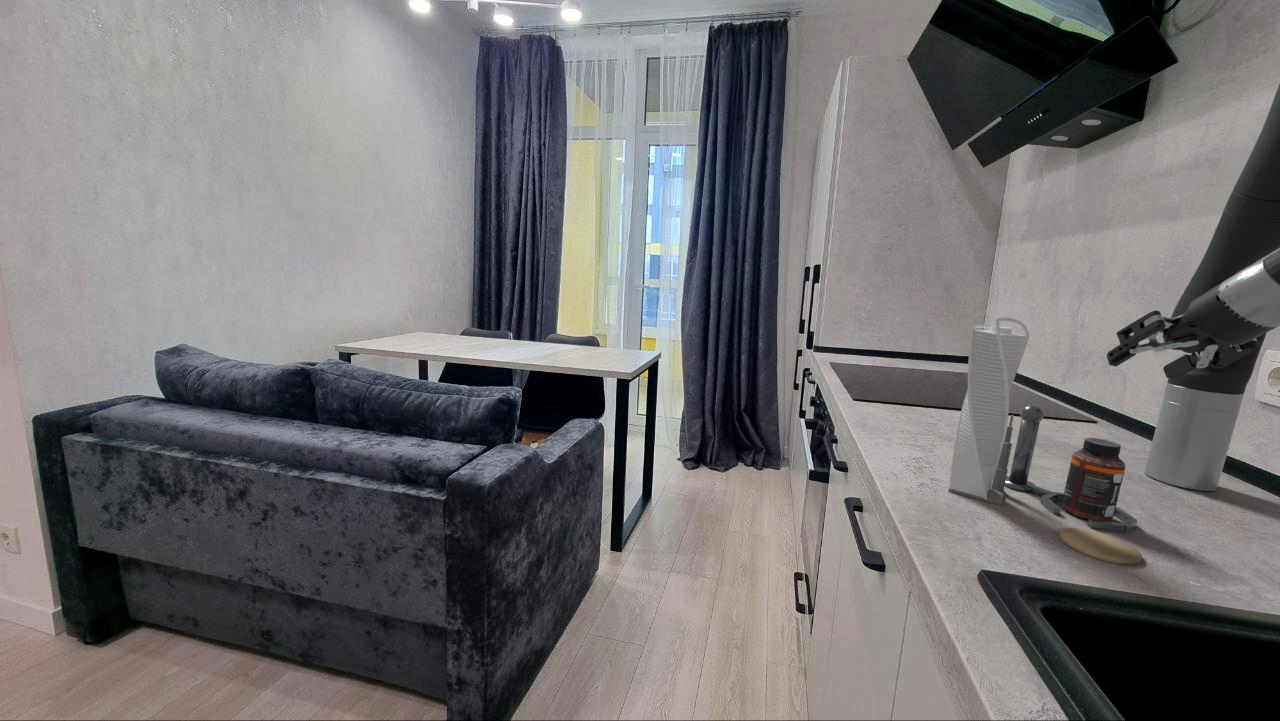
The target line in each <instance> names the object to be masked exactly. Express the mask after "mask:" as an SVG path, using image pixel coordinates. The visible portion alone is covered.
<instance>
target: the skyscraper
mask: <svg viewBox="0 0 1280 721" xmlns="http://www.w3.org/2000/svg"><path fill="white" fill-rule="evenodd" d="M1000 322H1011V323H1015V324H1017V325H1018V326H1020V327H1021V328H1022V329H1023V331H1024V333H1025V335H1024V334H1021V333H1020V334H1019V333H1014V332H1013V327H1009V326H1008V327H1007V326H1000ZM978 328H981V329H978ZM985 328H986V329H989V330H985ZM982 329H983V330H982ZM969 338H970V339H969V347H968V348H969V349H968V361H967V362H968V363H967V365H968V366H967V391H966V394H965V397H964V400H963V402H962V403H963V404H962V407H961V410H960V415H959V419H958V423H957V428H956V432H955V439H954V444H953V452H952V458H951V468H950V475H949V482H948V483H949V486H948V492H949V493H954V494H957V495H960V496H961V495H962V496H964V497H968V498H972V499H975V498H976V500H979V499H980V500H979V501H983V502H986V501H987V503H990V504H994V505H998V506H1002V505H1003V504H1002V503H1003V498H1004V494H1005V481H1006V476H1008V466H1009V461H1010V457H1011V452H1012V451H1011V450H1012V445H1013V442H1011V438H1012V435H1013V434H1012V433H1013V430H1014V429H1013V428H1014V426H1013V422H1014V415H1013V414H1012V415H1010V419H1009V407H1010V406H1009V403H1010V395H1009V393H1010V389H1011V388H1012V385H1013V383H1014V380H1015V378H1016V376H1017V372H1018V370H1019V367H1020V365H1021V362H1022V359H1023V356H1024V354H1025V351H1026V348H1027V345H1028V342H1029V340H1030V333H1029V330H1028V328H1027V326H1026V325H1025V324H1024V323H1023V322H1022V321H1021V320H1019V319H1015V318H1011V317H999V318H997V319H995V325H990V324H973V325H972V326H971V328H970V337H969ZM1008 419H1009V420H1010V421H1009V425H1008Z"/></svg>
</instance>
